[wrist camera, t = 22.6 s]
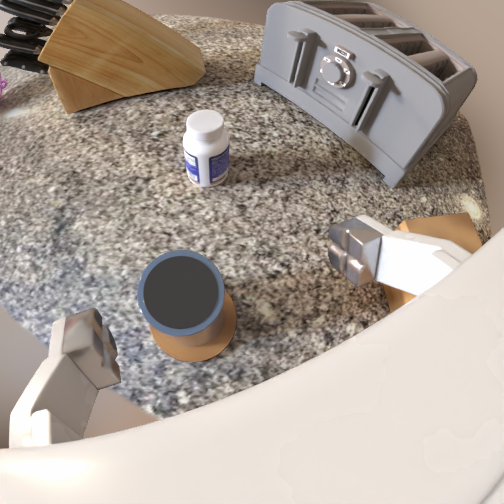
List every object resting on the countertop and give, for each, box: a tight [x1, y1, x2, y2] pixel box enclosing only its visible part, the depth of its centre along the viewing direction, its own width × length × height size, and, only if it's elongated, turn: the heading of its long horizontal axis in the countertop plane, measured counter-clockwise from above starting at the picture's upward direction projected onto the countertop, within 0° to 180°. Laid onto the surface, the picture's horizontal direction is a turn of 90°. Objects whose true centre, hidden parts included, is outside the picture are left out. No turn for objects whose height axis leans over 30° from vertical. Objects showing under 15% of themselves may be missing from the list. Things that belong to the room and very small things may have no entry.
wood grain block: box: [382, 213, 482, 313], centre depth 29 cm, size 12×12×8 cm
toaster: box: [254, 1, 477, 189], centre depth 38 cm, size 31×36×17 cm
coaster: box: [149, 290, 237, 362], centre depth 28 cm, size 9×9×1 cm
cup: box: [137, 250, 225, 347], centre depth 24 cm, size 6×6×9 cm
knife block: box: [0, 0, 206, 114], centre depth 28 cm, size 11×35×31 cm, turn 103°
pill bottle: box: [183, 109, 229, 187], centre depth 32 cm, size 5×5×9 cm
